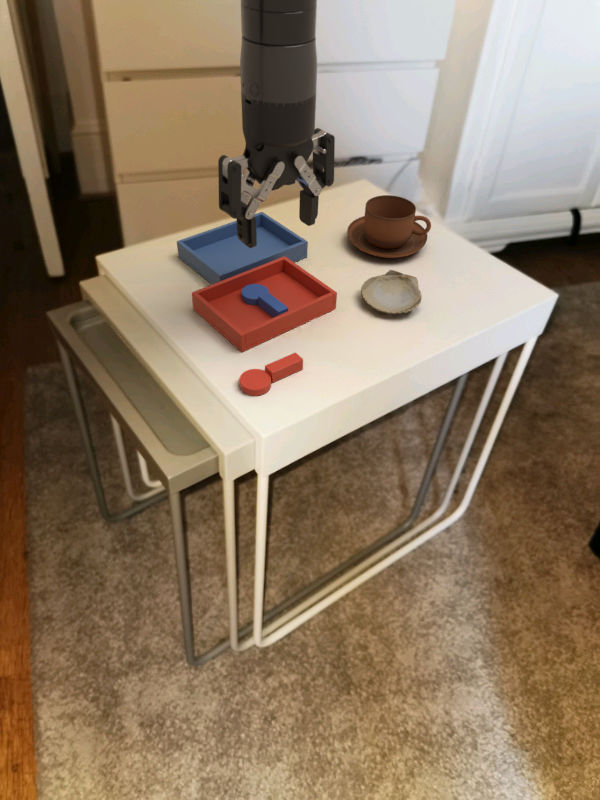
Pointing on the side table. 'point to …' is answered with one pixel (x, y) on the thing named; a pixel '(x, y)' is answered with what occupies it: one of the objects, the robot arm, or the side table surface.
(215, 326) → the red tray
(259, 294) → the blue spoon
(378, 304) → the seashell
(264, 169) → the robot arm
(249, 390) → the red spoon
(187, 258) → the blue tray
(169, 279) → the side table surface
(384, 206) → the cup and saucer
